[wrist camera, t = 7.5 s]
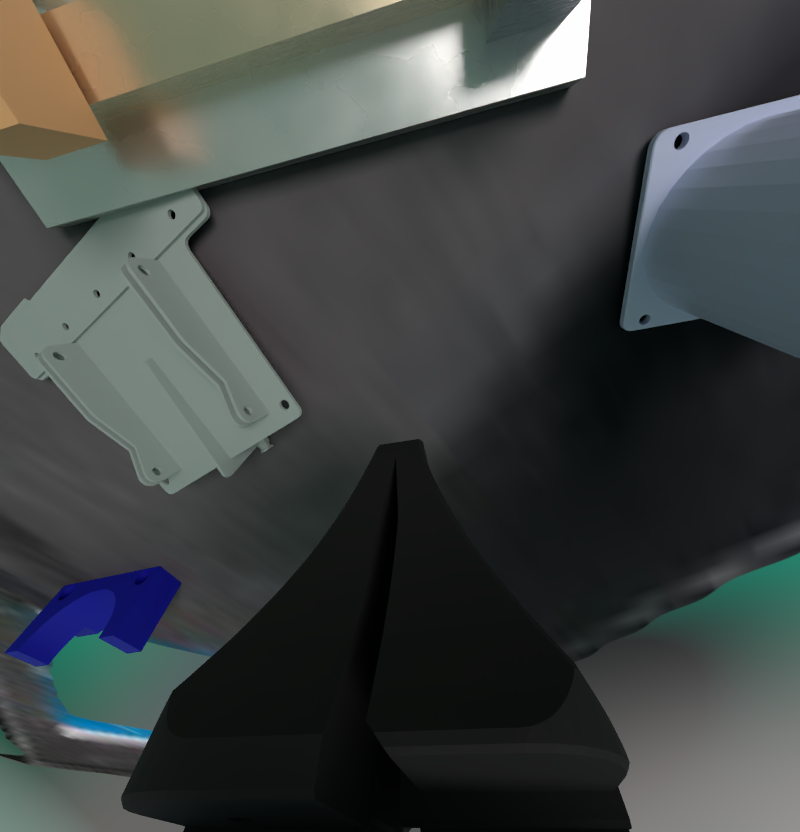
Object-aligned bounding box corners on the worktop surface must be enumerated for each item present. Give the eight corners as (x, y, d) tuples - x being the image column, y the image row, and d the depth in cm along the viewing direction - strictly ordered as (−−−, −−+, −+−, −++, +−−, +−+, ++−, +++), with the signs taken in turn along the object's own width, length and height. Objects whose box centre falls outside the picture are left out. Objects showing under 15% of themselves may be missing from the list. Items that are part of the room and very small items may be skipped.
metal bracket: (329, 423, 14) (133, 536, 19) (365, 389, 20) (205, 484, 24) (96, 85, 11) (-66, 319, 16) (213, 153, 17) (65, 313, 22)
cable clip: (101, 605, 35) (50, 672, 30) (65, 584, 33) (4, 652, 28) (192, 589, 33) (153, 658, 28) (161, 564, 31) (113, 635, 26)
